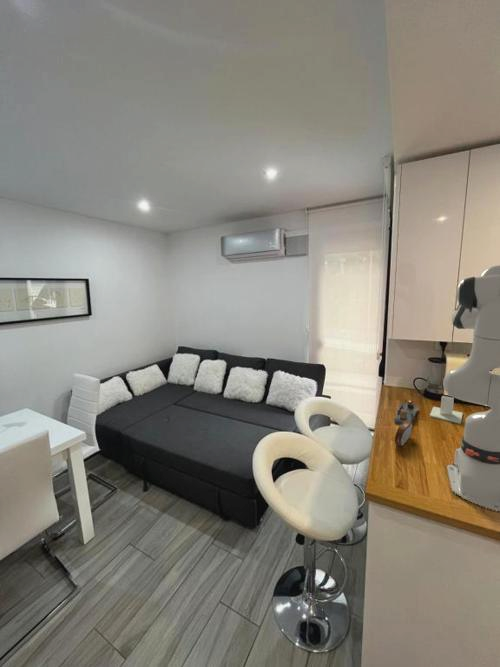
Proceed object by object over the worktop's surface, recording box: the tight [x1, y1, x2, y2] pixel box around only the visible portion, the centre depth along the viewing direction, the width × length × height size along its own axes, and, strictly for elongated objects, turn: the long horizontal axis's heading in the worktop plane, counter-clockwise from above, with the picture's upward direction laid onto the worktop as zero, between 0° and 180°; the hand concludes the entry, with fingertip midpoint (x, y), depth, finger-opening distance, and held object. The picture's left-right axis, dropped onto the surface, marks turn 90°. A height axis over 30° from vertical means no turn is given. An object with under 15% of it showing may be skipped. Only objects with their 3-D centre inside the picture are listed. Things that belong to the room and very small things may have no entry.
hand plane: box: [393, 399, 419, 425], centre depth 142 cm, size 22×7×6 cm, turn 139°
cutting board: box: [429, 406, 464, 425], centre depth 142 cm, size 13×13×1 cm
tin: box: [394, 420, 413, 447], centre depth 120 cm, size 15×3×8 cm, turn 133°
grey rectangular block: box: [439, 395, 455, 417], centre depth 141 cm, size 4×5×9 cm
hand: (482, 362), depth 129 cm, fingers open, 8 cm apart
